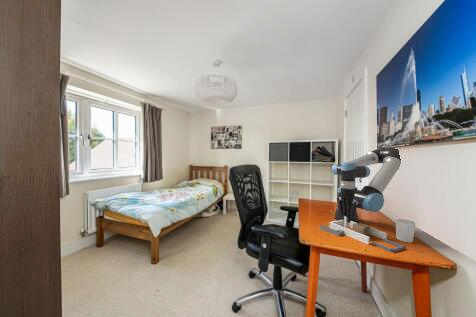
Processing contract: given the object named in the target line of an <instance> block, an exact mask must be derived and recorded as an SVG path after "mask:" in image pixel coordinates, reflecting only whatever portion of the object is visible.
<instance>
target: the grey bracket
mask: <svg viewBox="0 0 476 317" xmlns="http://www.w3.org/2000/svg"><path fill="white" fill-rule="evenodd" d="M382 240H383V242H384V243H387V244H390V245H392V246H395V247H393V248H391V247H388V246H386V245H383V244H381V243H378V242H376V241H372V242H371V244H372V245H374V246H376V247H378V248H381V249H383V250H384V251H385V250H386V251H388V252H390V253H396V252H399V251H402V250H406V245H403V244H400V243H397V242H396V241H395V242H394V241H392V240H389V239H388V238H387V239H382Z"/></svg>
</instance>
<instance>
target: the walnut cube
mask: <svg viewBox="0 0 476 317" xmlns="http://www.w3.org/2000/svg"><path fill="white" fill-rule="evenodd" d="M371 228H372V227H371V226H370V225H368V224H365V223H362V222H359V223H356V224H353V228H352V231H355V232H358V233H360V234H363V235H365V236H368V237H370V238H371V235H370V230H371Z"/></svg>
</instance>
